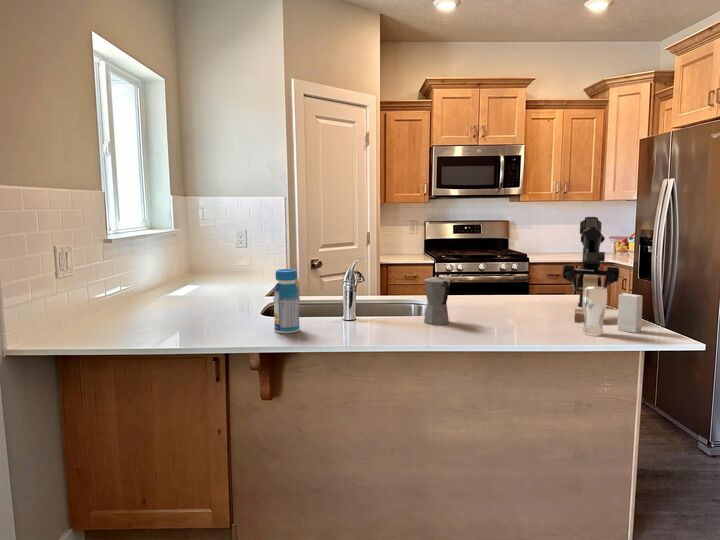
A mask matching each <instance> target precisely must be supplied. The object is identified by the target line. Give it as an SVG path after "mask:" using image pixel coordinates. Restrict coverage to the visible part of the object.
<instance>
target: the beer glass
mask: <svg viewBox="0 0 720 540" xmlns="http://www.w3.org/2000/svg"><path fill="white" fill-rule="evenodd" d="M607 305H608V287H607V288H605V287H604V286H601V287H598V286H586V287H584V295H583V310H584V319H585V323H583V329H582V334H583V333H584V334H583V335H587V336H590V335H591V337H602V336H603V335H604V328H603V324H604V323H603V322H604V318H605V314H606V309H607Z"/></svg>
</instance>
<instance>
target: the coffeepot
mask: <svg viewBox="0 0 720 540" xmlns="http://www.w3.org/2000/svg"><path fill="white" fill-rule="evenodd" d="M440 274H441V272H440V271H435V276H432V277H429V278H424V286H425V293H426V301H427V303H426V308H425V314H424V320H423V323H424V324H426V325H430V326H431V325H432V326H446V325H448V324H450V320H449V313H448V312H449V311H448V304H447V301H448V297H449V293H450V285H451V280H450V279H449V278H445V277H441V276H440Z"/></svg>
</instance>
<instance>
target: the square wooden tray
mask: <svg viewBox="0 0 720 540" xmlns="http://www.w3.org/2000/svg"><path fill="white" fill-rule="evenodd" d="M574 320H575V321H574V323H580V322H585V319H584V313H582V308H574Z"/></svg>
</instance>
